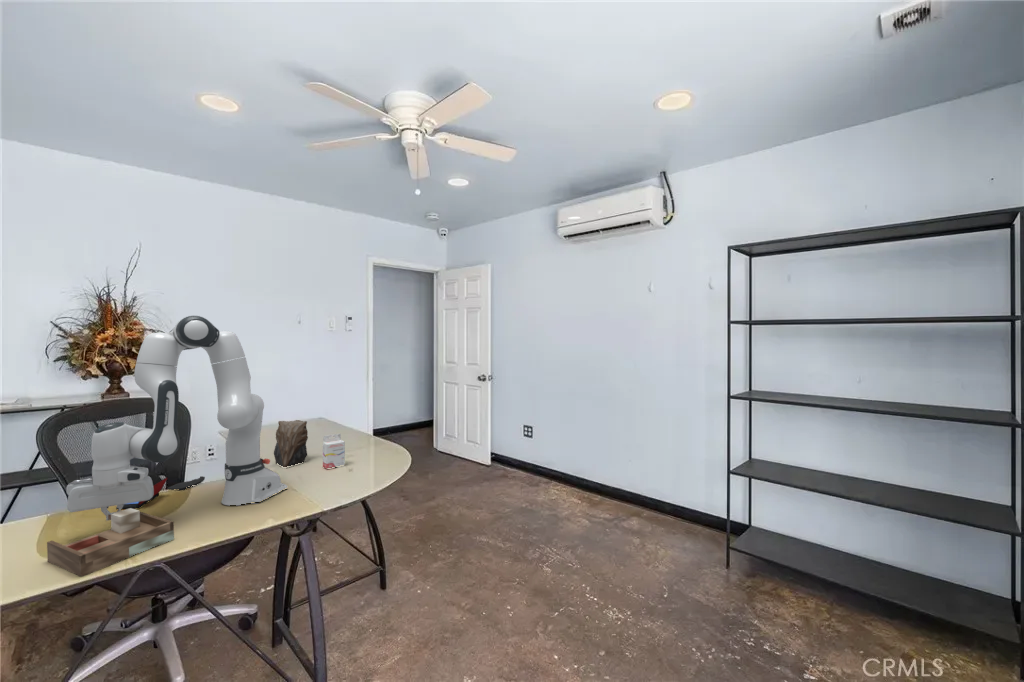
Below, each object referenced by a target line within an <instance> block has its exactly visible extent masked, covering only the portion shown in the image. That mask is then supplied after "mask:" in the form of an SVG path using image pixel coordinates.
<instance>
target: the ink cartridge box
mask: <svg viewBox="0 0 1024 682" xmlns="http://www.w3.org/2000/svg"><path fill="white" fill-rule="evenodd" d="M322 437H323V439H322V468H323V467H324V468H323V469H325V468H326V469H327V468H332V467H336V466H340V465H344V464H346V463H345V461H346V460H345V459H346V457H345V456H346V452H345V451H346V450H345V448H346V447H345V446H346V445H345V444H346V443H345V441H344V440H343V439H341V437H342V435H341V433H334V434H333V433H332V434H328V435H323V436H322ZM326 469H325V470H326Z"/></svg>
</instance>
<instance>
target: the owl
mask: <svg viewBox="0 0 1024 682" xmlns="http://www.w3.org/2000/svg"><path fill="white" fill-rule="evenodd" d="M307 423H308V421H306V420H305V421H303V420H298V419H295V420H289V421H288V420H279V421H278V427H277V429H276V432H275V440H276V444H275V446H274V450H273V456H274V460H275V464H276V463H278V464H279V465H281V466H283V467H287V466H291V465H295V464H298V463H302V462H304V461H305V460H306V458H307V457H308V451H307V450H308V448H307V441H308V439H309V436H308V429H307ZM302 464H303V463H302Z"/></svg>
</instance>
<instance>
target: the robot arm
mask: <svg viewBox="0 0 1024 682" xmlns="http://www.w3.org/2000/svg"><path fill="white" fill-rule="evenodd" d="M199 348H201V349H203V350H204V351H206V353H207V355H208V358H209V361H210V365H211V369H212V373H213V376H214V379H215V380H214V381H215V383H216V392H217V394H216V395H217V407H218V408H217V411H218V412H217V414H216V415H217V422H218V423H219V425H220V426H221V427H223V428H224V429H226V430H228V433H227V437H226V440H225V463H224V478H225V480H224V481H225V483H224V485H225V486H224V492H223V495H222V498H221V504H222V505H225V506H230V505H236V506H242V505H241V504H245V505H247V504H246V503H251V502H260V501H262V500H264V499H266V498H268V497H270V496H272V495H273V494H275V493H278V492H279V491H281V490H283V489H285V488H287V487H288V484H285V483H284V482H283V483H282V480H281V477H280V475H279V474H278V473H277V472H276V471H274V470H272V469H270V468H268V467H266V466H265V465H269V464H270V463H271V459H270V458H264V459H263V458H261V433H262V432H261V431H262V427H263V426H262V425H263V415H264V408H265V402H264V400H263V399H262V397H261V396H259V395H257V394H254V393H252V391H251V389H252V388H251V372H250V368H249V366H248V361H247V358H246V354H245V351H244V348H243V346H242V344H241V341H240V340H239V338H238V336H237V334H236V333H234V332H233V331H229V330H219V328H217V327H216V326H215V325H214V324H213V323H212V322H211V321H210V320H208V319H207V318H206V317H203V316H200V315H188V316H185V317H183V318H182V319H180V320H179V321H178V322H177V323H175V325H174V327H173V328H172V329H171V330H170V331H169V332H152V333H150V334H147V335H146V336H145V338H144V339H143V341H142V343H141V346H140V349H139V351H138V355H137V358H136V363H135V367H134V373H133V374H134V375H133V376H134V382H135V384H136V385H137V386H138V387H139V388H140V389H141V390H143V391H144V392H145V393H147V395H149V396H150V397H151V399H152V400H153V404H154V409H153V411H154V412H153V413H154V414H153V425H152V428H148V427H138V426H134V425H130V424H127V423H125V422H122V421H117V422H110V423H106V424H103V425H101V426H98V427H97V428H96V429H95V430H94V431H93V433H92V436H91V445H90V446H91V448H90V449H91V451H90V453H91V454H90V455H91V458H92V461H93V464H92V467H91V475H92V477H89V478H84V479H75V480H73V481H72V482H69V483H68V484H67V485H66V495H68V497H67V505H66V510H67V511H68V512H69V513H75V512H81V511H88V510H94V509H100V512H101V513H102V514H103V515H104V516H105V520H106V522H107V521H111V514H113V513H116V512H119V511H122V510H121V509H122V508H123V506H124V504H127V503H134V502H140V501H146V500H150V499H151V498H152V497H153V495H154V488H153V485H154V483H153V480H152V477H150V475H149V468H148V467H144V466H134V465H131V460H132V459H141V460H146V461H149V462H153V463H158V464H159V463H164V462H167V461H168V460H170V459H172V458H173V457H174V456H175V454H176V453H177V452H178V450H179V448H180V443H181V442H180V435H179V431H178V419H179V418H178V417H179V416H178V414H179V397H180V396H179V392H180V391H179V387H178V384H177V369H178V363H179V358H180V356H181V354H182V352H183V351H185V350H194V349H199ZM251 504H252V503H251ZM115 506H116V507H117V508H119V509H118V510H117V511H116V512H110V510H109V507H115Z"/></svg>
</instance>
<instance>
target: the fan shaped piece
mask: <svg viewBox="0 0 1024 682" xmlns="http://www.w3.org/2000/svg"><path fill="white" fill-rule="evenodd" d="M205 478H206V477H205V476H200V477H197V478H195V479H191V480H188V481H182V482H178V483H175V484H174V485H170V486H168V487H167V490H170V491H175V490H174V489H179V490H178V491H180V490H183V491H185V489H186V487H187V488H189V489H191V488H190V487H191V486H192V485H196V486H198V485H200V484H201V483H203V482H204V481H205ZM197 484H198V485H197ZM188 486H190V487H188ZM192 488H194V487H193V486H192ZM186 490H187V489H186Z"/></svg>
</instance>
